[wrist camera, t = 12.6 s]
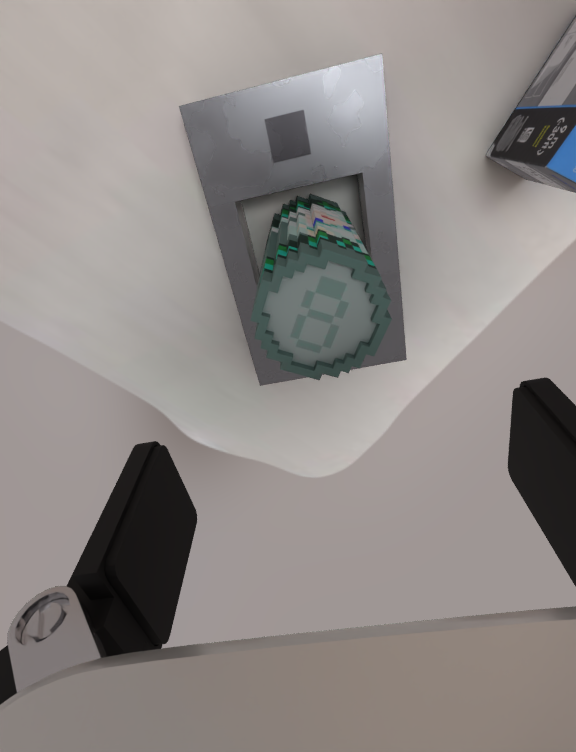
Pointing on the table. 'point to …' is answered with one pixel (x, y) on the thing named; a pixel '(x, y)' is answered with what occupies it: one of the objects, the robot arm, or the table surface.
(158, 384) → the table surface
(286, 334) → the can
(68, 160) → the table surface
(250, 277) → the rail plate
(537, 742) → the robot arm
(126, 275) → the table surface
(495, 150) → the label tape cartridge
